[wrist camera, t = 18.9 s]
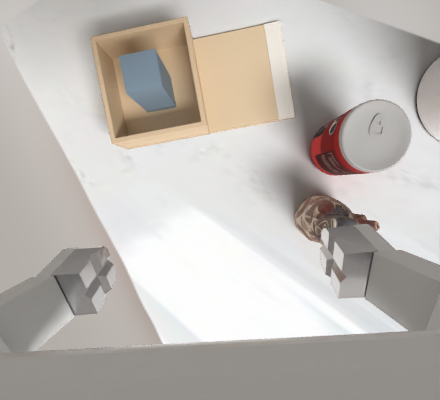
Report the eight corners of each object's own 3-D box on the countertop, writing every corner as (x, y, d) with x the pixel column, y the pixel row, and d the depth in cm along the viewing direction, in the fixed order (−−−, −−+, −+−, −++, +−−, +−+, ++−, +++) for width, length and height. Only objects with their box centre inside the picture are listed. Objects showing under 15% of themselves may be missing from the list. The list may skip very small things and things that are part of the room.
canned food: (357, 120, 37) (410, 94, 26) (360, 172, 38) (414, 168, 27) (306, 126, 38) (338, 102, 27) (310, 178, 38) (343, 176, 27)
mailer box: (279, 23, 37) (287, -6, 31) (294, 117, 38) (305, 106, 32) (110, 58, 38) (90, 37, 32) (128, 149, 39) (111, 143, 33)
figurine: (290, 199, 38) (318, 207, 26) (336, 190, 38) (385, 194, 26) (299, 243, 39) (330, 270, 27) (344, 235, 38) (395, 258, 26)
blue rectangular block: (170, 77, 37) (154, 48, 29) (176, 107, 37) (162, 86, 30) (142, 83, 37) (118, 56, 29) (148, 112, 38) (126, 93, 30)
